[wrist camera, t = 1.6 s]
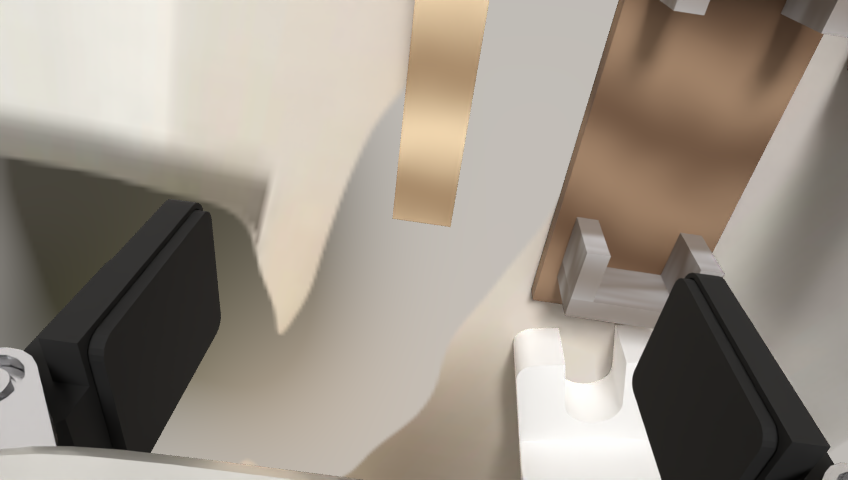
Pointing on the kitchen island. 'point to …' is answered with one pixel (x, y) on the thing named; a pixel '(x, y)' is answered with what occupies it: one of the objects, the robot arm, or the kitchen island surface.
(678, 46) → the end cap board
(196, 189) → the kitchen island surface
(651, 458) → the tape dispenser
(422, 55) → the oak slat
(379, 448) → the kitchen island surface
